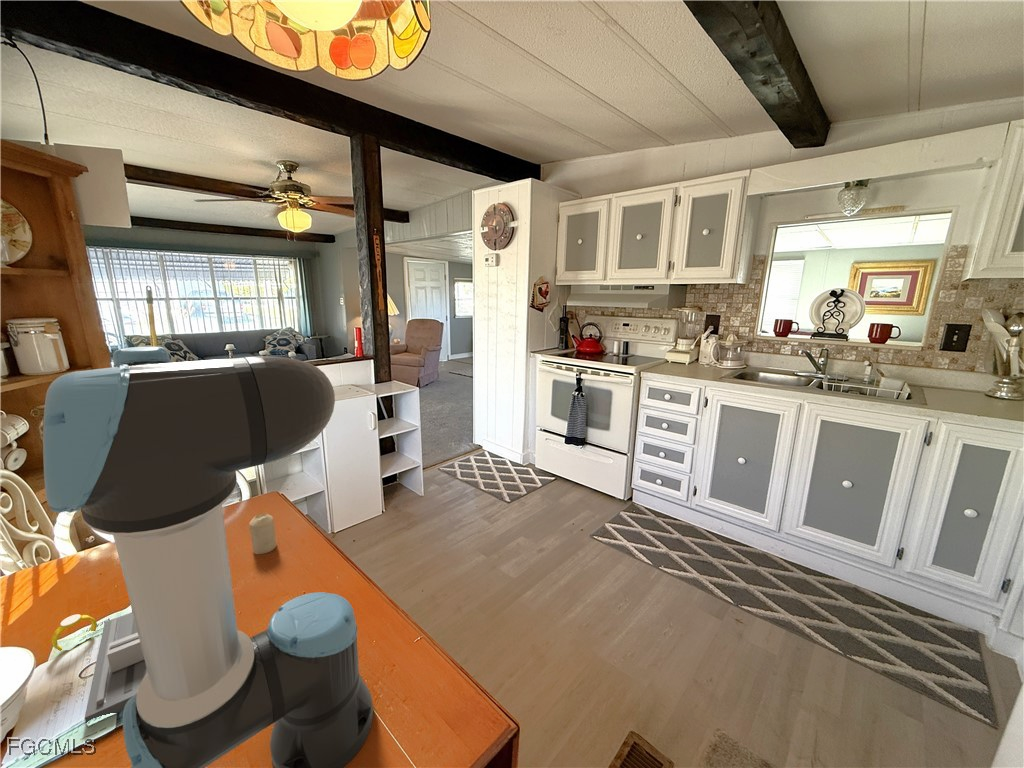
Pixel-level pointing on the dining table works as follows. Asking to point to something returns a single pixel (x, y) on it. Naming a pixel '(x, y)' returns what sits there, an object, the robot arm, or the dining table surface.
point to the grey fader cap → (124, 652)
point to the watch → (71, 622)
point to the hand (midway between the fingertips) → (175, 539)
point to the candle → (262, 533)
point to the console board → (119, 685)
